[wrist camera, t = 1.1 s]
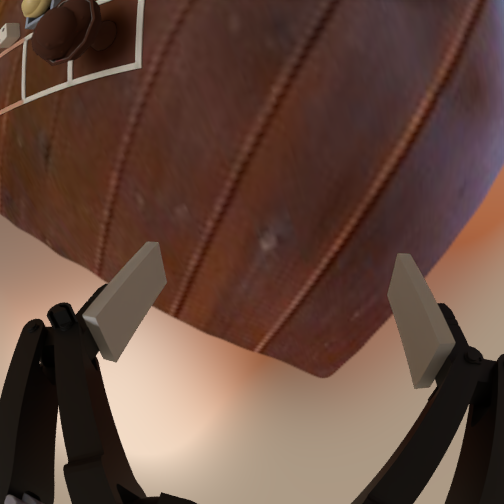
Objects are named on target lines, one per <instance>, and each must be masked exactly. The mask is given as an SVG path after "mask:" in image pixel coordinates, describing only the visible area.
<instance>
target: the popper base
mask: <svg viewBox="0 0 504 504" xmlns="http://www.w3.org/2000/svg"><path fill="white" fill-rule="evenodd" d="M60 2H61V0H52V1H51V8H50V9H52V8H54V7H56V6H57V5H58V4H59V3H60ZM42 16H43V15H42ZM42 16H40V17H38V18H32V17H27V18H26V26H25V29H34V28H35V27H36V25H37V23H38V22H39V20H40V18H41V17H42Z"/></svg>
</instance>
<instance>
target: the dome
mask: <svg viewBox="0 0 504 504" xmlns="http://www.w3.org/2000/svg"><path fill="white" fill-rule="evenodd" d="M51 1H52V0H23V2H22V11H23V14H24V16H25V17H32V18H38V17H40V16H42V15H43V14H44V13H45V12H46V10H47V9H48V8H49V6H50V4H51Z"/></svg>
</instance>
